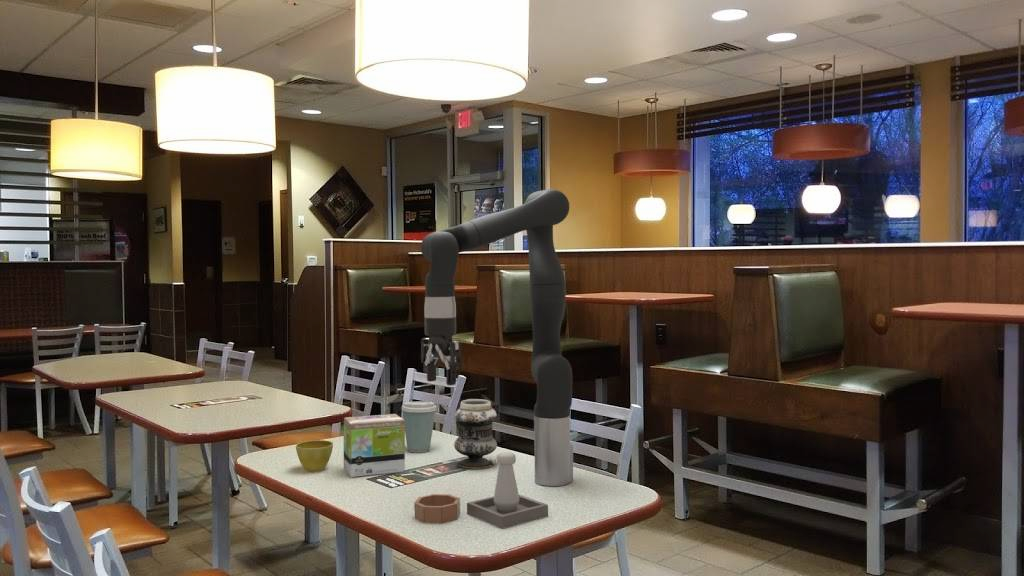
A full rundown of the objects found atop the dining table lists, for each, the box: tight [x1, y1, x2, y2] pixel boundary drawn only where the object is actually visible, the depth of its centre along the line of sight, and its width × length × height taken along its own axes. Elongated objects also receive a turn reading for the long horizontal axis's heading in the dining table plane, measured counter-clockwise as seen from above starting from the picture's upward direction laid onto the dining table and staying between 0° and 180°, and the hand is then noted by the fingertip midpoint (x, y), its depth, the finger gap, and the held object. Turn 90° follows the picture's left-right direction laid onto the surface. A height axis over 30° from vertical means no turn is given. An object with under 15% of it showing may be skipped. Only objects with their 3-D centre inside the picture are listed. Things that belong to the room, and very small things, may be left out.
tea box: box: [343, 413, 406, 478], centre depth 215 cm, size 15×10×15 cm, turn 114°
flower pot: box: [295, 439, 334, 473], centre depth 217 cm, size 10×10×7 cm
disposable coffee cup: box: [401, 401, 437, 454], centre depth 238 cm, size 11×11×15 cm
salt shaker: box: [493, 451, 520, 513], centre depth 177 cm, size 6×6×13 cm
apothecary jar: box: [453, 398, 498, 470], centre depth 221 cm, size 12×12×18 cm
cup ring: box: [413, 493, 461, 524], centre depth 176 cm, size 10×10×4 cm
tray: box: [466, 494, 549, 529], centre depth 176 cm, size 13×13×2 cm
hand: (441, 382), depth 188 cm, fingers open, 8 cm apart
